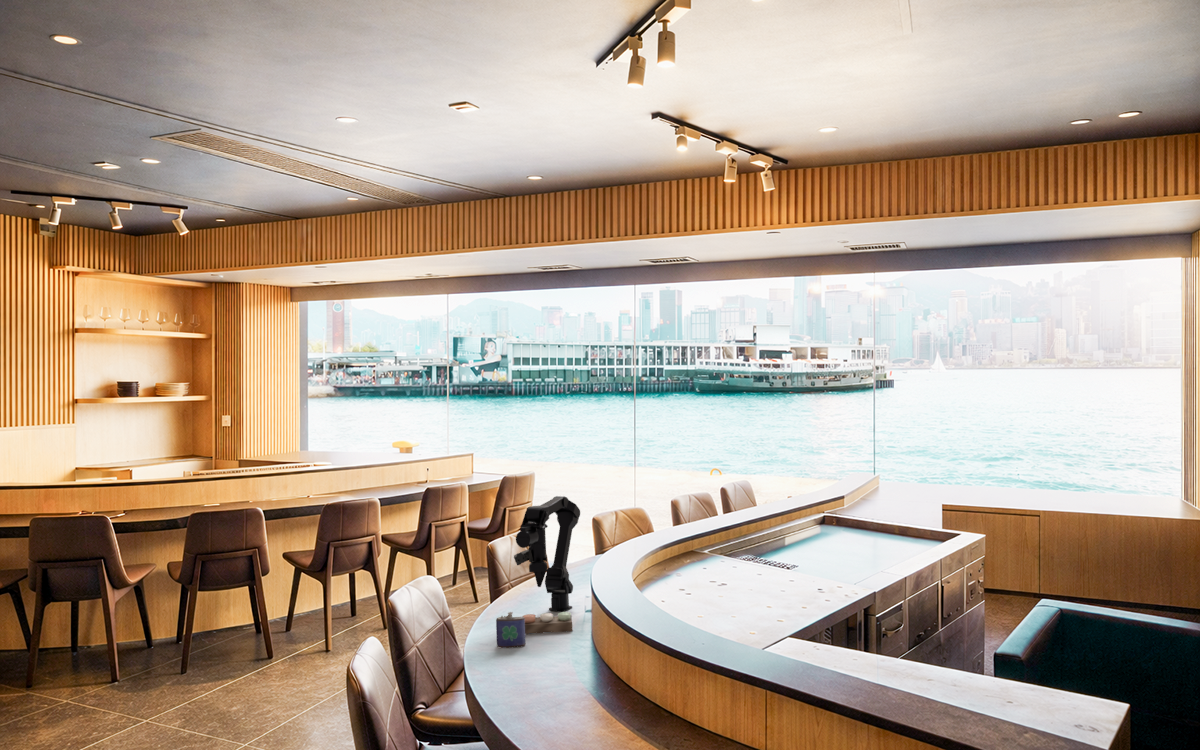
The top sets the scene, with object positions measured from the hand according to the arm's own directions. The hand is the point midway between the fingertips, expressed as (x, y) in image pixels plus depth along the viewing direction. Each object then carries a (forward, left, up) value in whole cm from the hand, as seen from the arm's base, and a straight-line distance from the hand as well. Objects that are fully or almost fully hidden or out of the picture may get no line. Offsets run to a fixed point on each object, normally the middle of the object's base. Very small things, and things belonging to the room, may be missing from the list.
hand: (539, 586), depth 254 cm
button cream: (+6, +8, -9) cm, 13 cm away
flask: (+25, +9, -12) cm, 29 cm away
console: (+6, +8, -12) cm, 16 cm away
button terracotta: (+10, +3, -9) cm, 14 cm away
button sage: (+2, +13, -9) cm, 16 cm away
